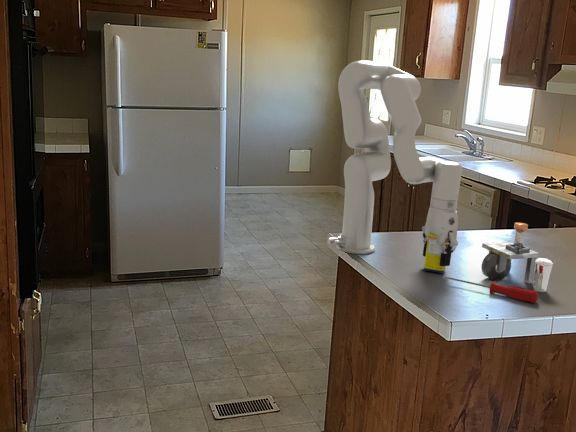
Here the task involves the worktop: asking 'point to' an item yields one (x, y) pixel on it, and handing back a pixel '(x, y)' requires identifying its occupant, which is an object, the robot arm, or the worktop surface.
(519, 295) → the screwdriver
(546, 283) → the milkshake
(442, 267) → the supplement box
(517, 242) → the light bulb
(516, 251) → the grey flat-topped wheeled fixture
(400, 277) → the worktop surface
